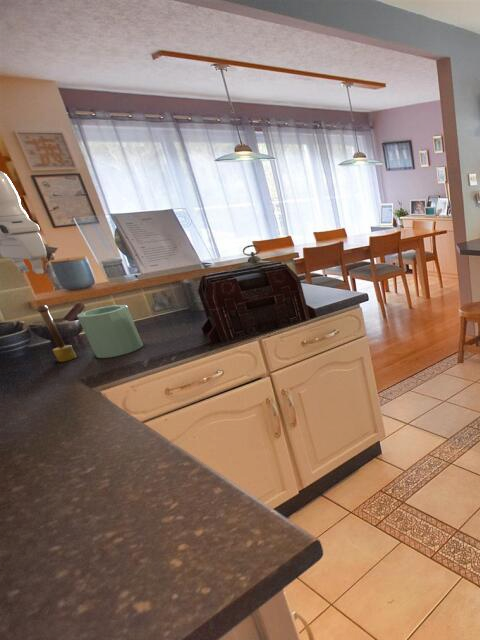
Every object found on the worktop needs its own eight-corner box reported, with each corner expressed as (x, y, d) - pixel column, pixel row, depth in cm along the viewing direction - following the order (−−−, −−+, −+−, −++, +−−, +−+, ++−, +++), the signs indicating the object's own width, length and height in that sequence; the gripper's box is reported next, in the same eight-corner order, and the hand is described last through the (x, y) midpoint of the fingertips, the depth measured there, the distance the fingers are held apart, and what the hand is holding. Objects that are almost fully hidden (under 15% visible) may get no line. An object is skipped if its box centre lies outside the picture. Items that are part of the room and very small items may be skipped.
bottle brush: (62, 362, 138) (34, 308, 131) (55, 360, 140) (28, 307, 133) (79, 357, 142) (53, 303, 135) (72, 355, 143) (46, 302, 137)
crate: (301, 308, 178) (288, 257, 170) (319, 317, 165) (305, 262, 157) (202, 333, 156) (181, 276, 148) (212, 345, 143) (191, 284, 135)
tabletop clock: (255, 309, 181) (237, 249, 172) (244, 306, 186) (225, 248, 177) (287, 299, 192) (272, 242, 183) (276, 297, 197) (260, 241, 188)
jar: (108, 359, 138) (89, 318, 132) (88, 355, 142) (69, 315, 137) (150, 345, 148) (134, 306, 142) (130, 341, 153) (114, 303, 147)
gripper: (-21, 227, 128) (2, 274, 133) (10, 227, 120) (33, 276, 125) (9, 225, 133) (30, 269, 139) (40, 224, 125) (61, 271, 130)
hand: (32, 273), depth 132 cm, fingers open, 8 cm apart
